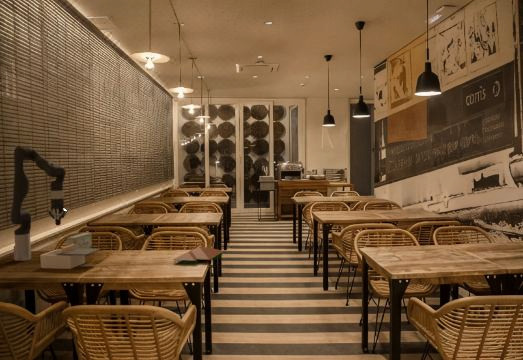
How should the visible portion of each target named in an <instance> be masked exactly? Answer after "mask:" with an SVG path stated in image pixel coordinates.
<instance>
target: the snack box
mask: <svg viewBox="0 0 523 360" xmlns="http://www.w3.org/2000/svg"><path fill="white" fill-rule="evenodd" d="M92 235H93V233H92V232H82V233H80V234H79V233H78V234H76V235H71V236H69V237H67V238H66V246H69V245H72V244H75V248H84V249H93V242H92V241H93V236H92ZM90 255H91V254H89V255H88V256H90Z"/></svg>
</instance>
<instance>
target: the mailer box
mask: <svg viewBox="0 0 523 360" xmlns="http://www.w3.org/2000/svg"><path fill="white" fill-rule="evenodd" d="M60 252H61V249H55V250H50V251H49V252H48V251H47V252H46V253H42V254H40V258H39V259H40V268H41V269H59V270H60V269H61V270H62V269H67V270H72V269H73V268H76V267H78V266H81V265H82V264H83V265H84V264H85V263H86V256H84V255H56V254H57V253H60Z"/></svg>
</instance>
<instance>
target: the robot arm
mask: <svg viewBox="0 0 523 360" xmlns="http://www.w3.org/2000/svg"><path fill="white" fill-rule="evenodd" d="M24 161H25V162H26V161H27V162H28V161H31V162H34V163H35V165H36V167H37V168H39V169H40V170H41V171H43V172H44V173H45V174H46V175H47V176H48V177H50V178H55V180H52V181H51V182H50V209H49V210H48V209H47V213H48V214H49V216H50V217H51V218H52V219H53V220H54V223H55V226H61V224H62V220H61V219H64V218H65V216H66V215H67V214H68V212H69V211H68V210H66V209H65V207H64V205H65V197H64V196H65V195H64V194H65V193H64V181H65V177H66V168H65V167H64V165H54V162H52V161H50V160H48V159H47V158H45V157H44V156H43V155H41V154H40V153H39V152H37V150H35V149H34V148H32V147H31V146H16V147H15V148H14V151H13V164H14V166H13V167H14V169H13V170H14V174H13V177H14V178H13V189H12V190H13V191H12V192H13V193H12V194H13V195H12V202H11V208H10V209H11V210H10V221H11V223H12V224H13V225H19V227H18V228H16V229H15V230H14V232H13V234H14V246H13V259H14V261H15V262H24V261H29V260H31V259H32V246H31V228H32V225H31V224H32V215H31V212H30V211H29V209H26V208H25V209H22V205H23V202H24V200H25V199H26V197H27V196H28V194H29V192H30V185H31V184H30V182H31V181H30V178H29V176H28V175H27V173H26V171H25V168H24Z"/></svg>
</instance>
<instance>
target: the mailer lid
mask: <svg viewBox="0 0 523 360" xmlns="http://www.w3.org/2000/svg"><path fill="white" fill-rule="evenodd" d="M60 250H61V252H60V253H57V254H56V255H84V256H85V257H86V256H90V255H92V254H94V253H97V252H99V251H101V248H92V249H84V248H75V244H72V245H69V246H67V245H66V246H63V247H61V249H60ZM89 254H90V255H89Z"/></svg>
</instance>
